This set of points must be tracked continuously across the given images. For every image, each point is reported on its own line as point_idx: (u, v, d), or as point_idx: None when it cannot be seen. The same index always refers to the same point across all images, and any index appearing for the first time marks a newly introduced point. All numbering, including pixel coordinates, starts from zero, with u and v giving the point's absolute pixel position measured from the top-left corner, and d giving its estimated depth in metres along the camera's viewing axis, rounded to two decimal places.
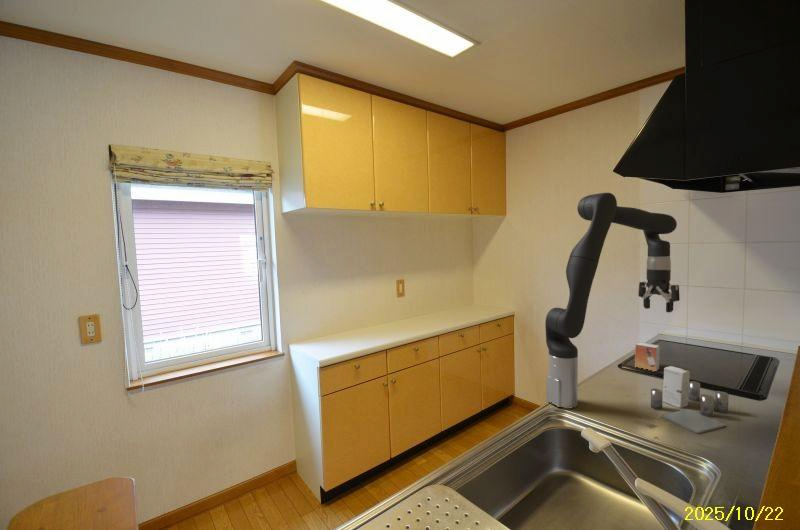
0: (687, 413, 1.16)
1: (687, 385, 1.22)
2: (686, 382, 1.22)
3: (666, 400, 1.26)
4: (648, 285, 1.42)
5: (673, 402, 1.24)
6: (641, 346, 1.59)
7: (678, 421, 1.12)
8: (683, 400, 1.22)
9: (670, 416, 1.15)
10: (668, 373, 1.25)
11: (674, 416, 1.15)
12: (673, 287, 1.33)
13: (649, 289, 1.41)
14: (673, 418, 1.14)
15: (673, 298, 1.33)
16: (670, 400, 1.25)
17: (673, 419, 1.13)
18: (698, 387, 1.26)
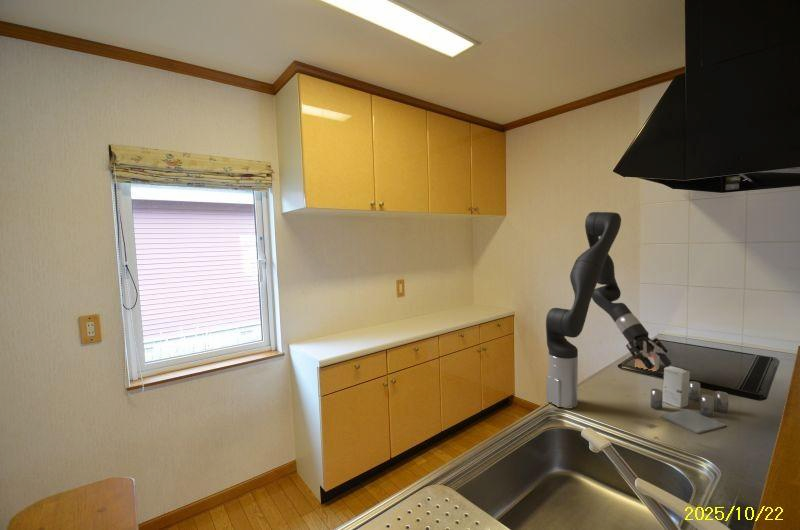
0: (687, 413, 1.16)
1: (687, 385, 1.22)
2: (686, 382, 1.22)
3: (666, 400, 1.26)
4: (639, 343, 1.34)
5: (673, 402, 1.24)
6: None
7: (678, 421, 1.12)
8: (683, 400, 1.22)
9: (670, 416, 1.15)
10: (668, 373, 1.25)
11: (674, 416, 1.15)
12: (657, 339, 1.37)
13: (644, 345, 1.33)
14: (673, 418, 1.14)
15: (665, 349, 1.34)
16: (670, 400, 1.25)
17: (673, 419, 1.13)
18: (698, 387, 1.26)
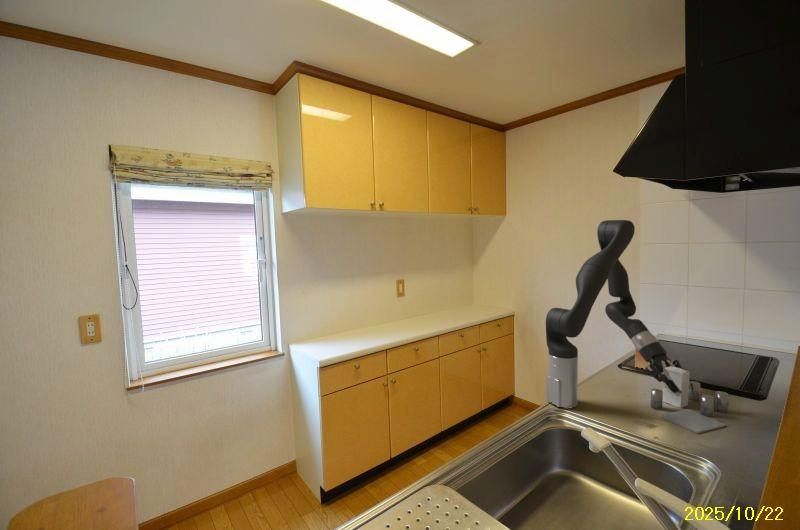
0: (687, 413, 1.16)
1: (687, 385, 1.22)
2: (686, 382, 1.22)
3: (666, 400, 1.26)
4: (657, 362, 1.28)
5: (673, 402, 1.24)
6: None
7: (678, 421, 1.12)
8: (683, 400, 1.22)
9: (670, 416, 1.15)
10: (668, 373, 1.25)
11: (674, 416, 1.15)
12: (678, 361, 1.30)
13: (664, 365, 1.27)
14: (673, 418, 1.14)
15: None
16: (670, 400, 1.25)
17: (673, 419, 1.13)
18: (698, 387, 1.26)
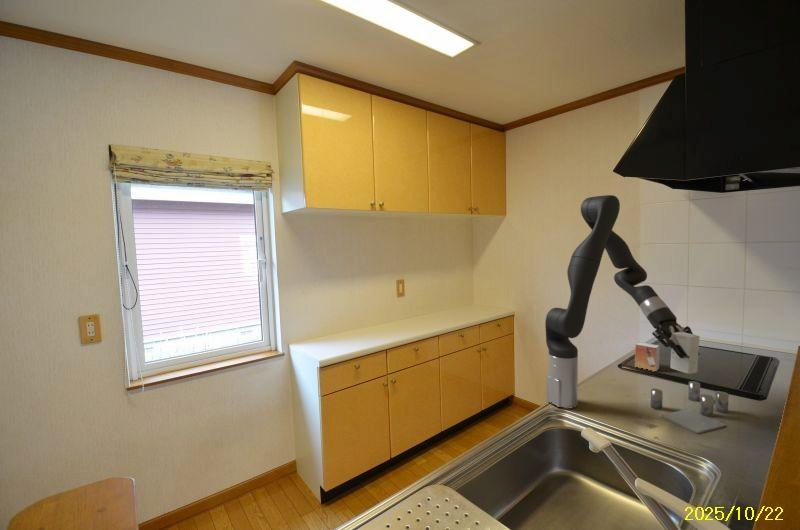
0: (687, 413, 1.16)
1: (697, 350, 1.16)
2: (695, 347, 1.16)
3: (674, 366, 1.20)
4: (665, 328, 1.22)
5: (681, 368, 1.18)
6: (641, 346, 1.59)
7: (678, 421, 1.12)
8: (691, 366, 1.16)
9: (670, 416, 1.15)
10: (676, 338, 1.19)
11: (674, 416, 1.15)
12: (689, 328, 1.24)
13: (672, 331, 1.21)
14: (673, 418, 1.14)
15: None
16: (677, 367, 1.19)
17: (673, 419, 1.13)
18: (698, 387, 1.26)
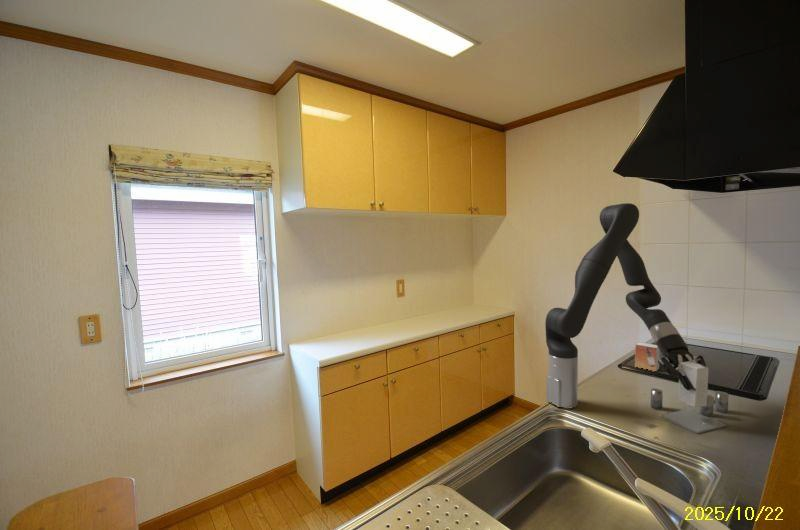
0: (687, 413, 1.16)
1: (705, 383, 1.09)
2: (703, 379, 1.09)
3: (681, 398, 1.14)
4: (672, 356, 1.16)
5: (688, 401, 1.11)
6: (641, 346, 1.59)
7: (678, 421, 1.12)
8: (699, 399, 1.09)
9: (670, 416, 1.15)
10: (684, 369, 1.13)
11: (674, 416, 1.15)
12: (702, 357, 1.16)
13: (680, 360, 1.14)
14: (673, 418, 1.14)
15: None
16: (684, 399, 1.12)
17: (673, 419, 1.13)
18: None
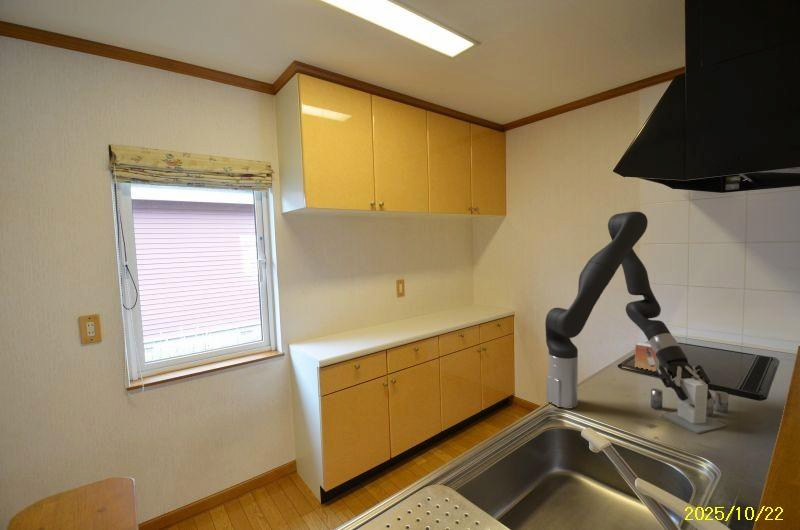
0: None
1: (704, 400, 1.10)
2: (702, 396, 1.09)
3: (680, 414, 1.14)
4: (672, 368, 1.16)
5: (687, 417, 1.12)
6: (641, 346, 1.59)
7: (678, 421, 1.12)
8: (697, 416, 1.10)
9: (670, 416, 1.15)
10: (683, 385, 1.13)
11: (674, 416, 1.15)
12: (701, 367, 1.16)
13: (679, 371, 1.15)
14: (673, 418, 1.14)
15: (707, 379, 1.14)
16: (684, 415, 1.13)
17: (673, 419, 1.13)
18: None
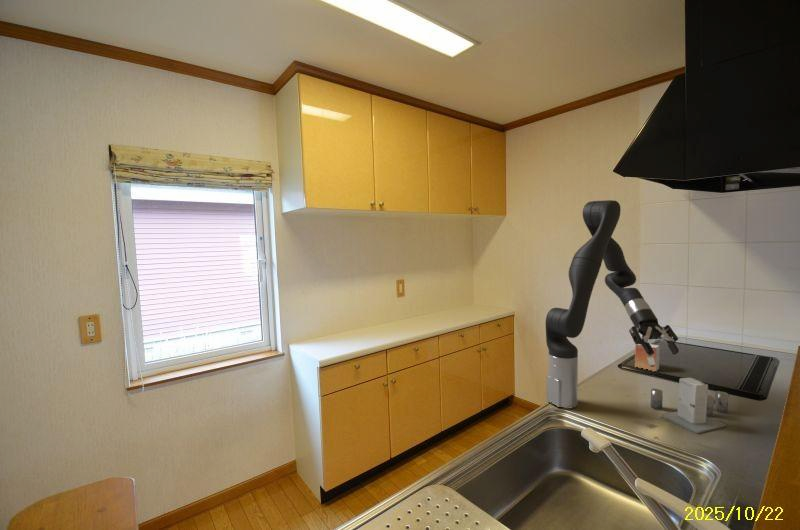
0: None
1: (704, 400, 1.10)
2: (702, 396, 1.09)
3: (680, 414, 1.14)
4: (643, 328, 1.28)
5: (687, 417, 1.12)
6: (641, 346, 1.59)
7: (678, 421, 1.12)
8: (697, 416, 1.10)
9: (670, 416, 1.15)
10: (683, 385, 1.13)
11: (674, 416, 1.15)
12: (669, 327, 1.29)
13: (649, 331, 1.27)
14: (673, 418, 1.14)
15: (676, 336, 1.26)
16: (684, 415, 1.13)
17: (673, 419, 1.13)
18: None
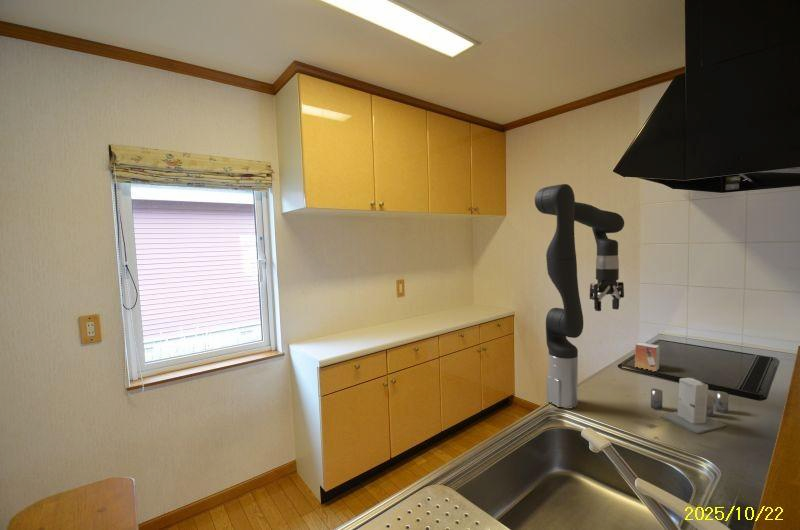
0: None
1: (704, 400, 1.10)
2: (702, 396, 1.09)
3: (680, 414, 1.14)
4: (603, 286, 1.36)
5: (687, 417, 1.12)
6: (641, 346, 1.59)
7: (678, 421, 1.12)
8: (697, 416, 1.10)
9: (670, 416, 1.15)
10: (683, 385, 1.13)
11: (674, 416, 1.15)
12: (622, 284, 1.39)
13: (606, 290, 1.36)
14: (673, 418, 1.14)
15: (623, 294, 1.39)
16: (684, 415, 1.13)
17: (673, 419, 1.13)
18: None
